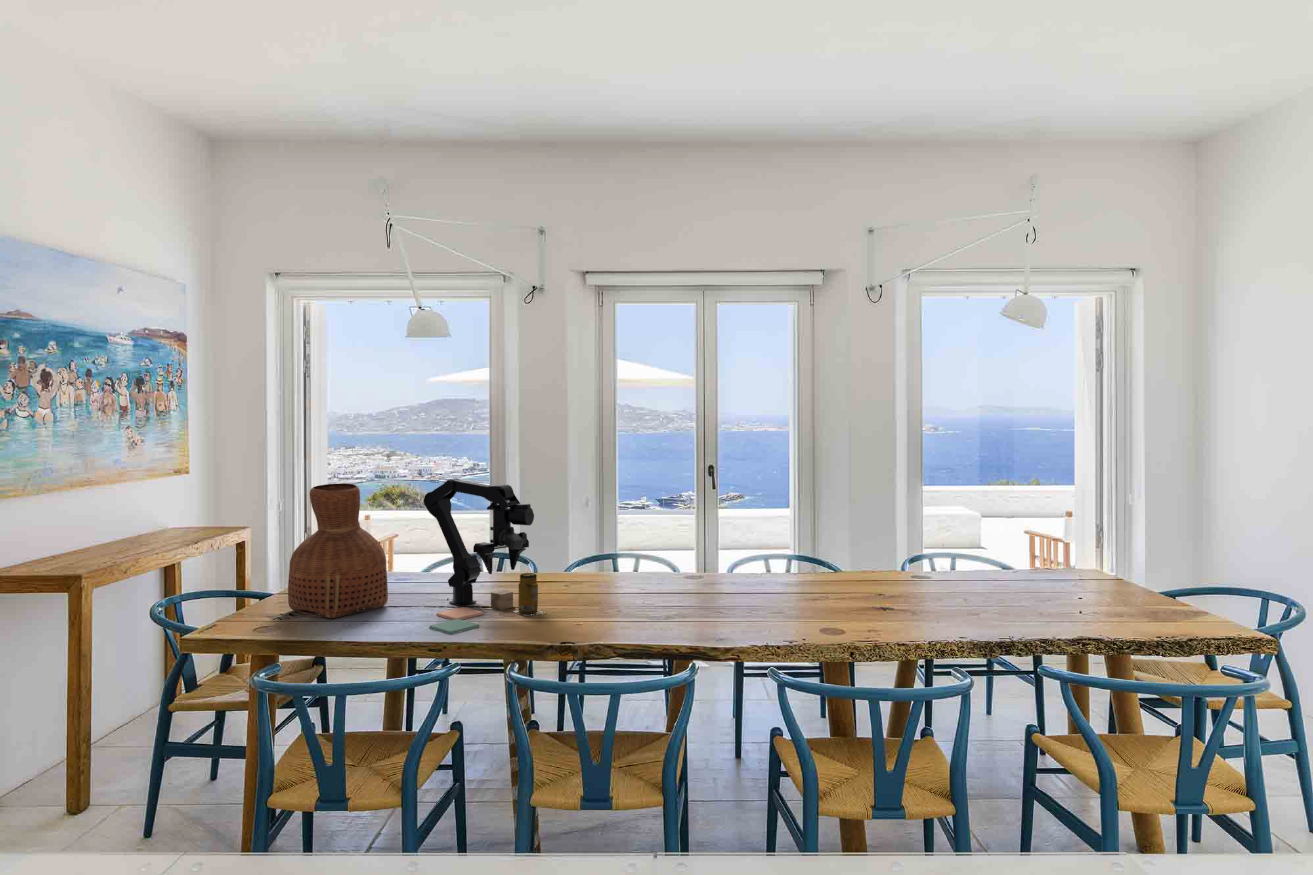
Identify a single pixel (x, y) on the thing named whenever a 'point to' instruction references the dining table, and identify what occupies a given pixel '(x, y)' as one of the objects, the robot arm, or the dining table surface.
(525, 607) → the condiment
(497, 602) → the brown cube
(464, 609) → the mat terracotta
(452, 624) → the mat green
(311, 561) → the basket
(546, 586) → the dining table surface
